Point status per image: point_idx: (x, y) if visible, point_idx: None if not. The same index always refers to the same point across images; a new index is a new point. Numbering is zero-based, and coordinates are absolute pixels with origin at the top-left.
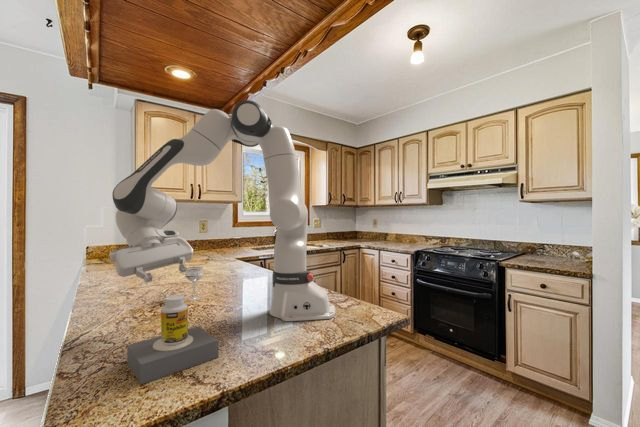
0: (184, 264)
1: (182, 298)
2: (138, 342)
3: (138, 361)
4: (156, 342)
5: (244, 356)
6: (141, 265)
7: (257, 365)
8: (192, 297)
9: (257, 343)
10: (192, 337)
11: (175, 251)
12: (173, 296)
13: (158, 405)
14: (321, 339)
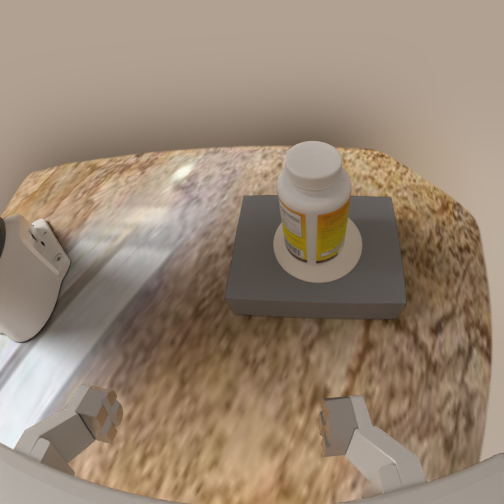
0: (71, 403)
1: (296, 146)
2: (383, 300)
3: (393, 209)
4: (350, 263)
5: (218, 195)
6: (387, 495)
7: (226, 166)
8: None
9: (169, 220)
10: (275, 235)
11: (13, 499)
12: (312, 167)
13: (370, 166)
14: (115, 176)
